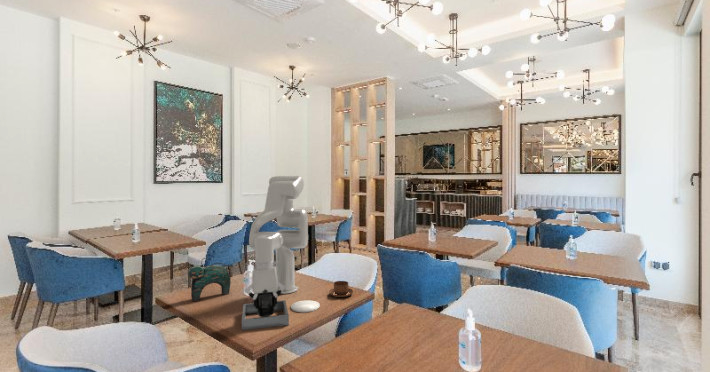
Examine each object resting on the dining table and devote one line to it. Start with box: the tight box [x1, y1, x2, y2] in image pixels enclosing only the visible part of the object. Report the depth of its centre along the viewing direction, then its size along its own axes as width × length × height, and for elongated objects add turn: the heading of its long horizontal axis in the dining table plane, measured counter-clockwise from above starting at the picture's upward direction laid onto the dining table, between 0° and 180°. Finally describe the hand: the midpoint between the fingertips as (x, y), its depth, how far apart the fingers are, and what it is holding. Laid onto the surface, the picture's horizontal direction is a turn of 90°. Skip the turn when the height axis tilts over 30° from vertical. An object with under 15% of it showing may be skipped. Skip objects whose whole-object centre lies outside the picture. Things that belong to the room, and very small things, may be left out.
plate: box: [290, 299, 321, 314], centre depth 164 cm, size 13×13×1 cm
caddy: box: [241, 299, 290, 331], centre depth 151 cm, size 18×18×4 cm
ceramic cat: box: [187, 257, 231, 302], centre depth 179 cm, size 20×6×20 cm, turn 129°
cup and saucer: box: [329, 280, 354, 298], centre depth 181 cm, size 12×12×6 cm
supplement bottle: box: [256, 289, 275, 317], centre depth 151 cm, size 7×7×12 cm
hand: (265, 306), depth 152 cm, fingers closed on supplement bottle, 6 cm apart
